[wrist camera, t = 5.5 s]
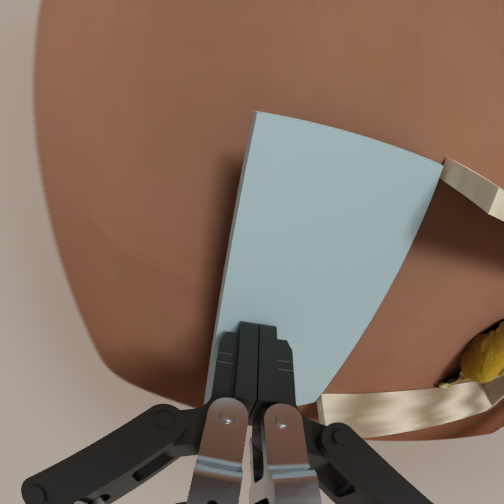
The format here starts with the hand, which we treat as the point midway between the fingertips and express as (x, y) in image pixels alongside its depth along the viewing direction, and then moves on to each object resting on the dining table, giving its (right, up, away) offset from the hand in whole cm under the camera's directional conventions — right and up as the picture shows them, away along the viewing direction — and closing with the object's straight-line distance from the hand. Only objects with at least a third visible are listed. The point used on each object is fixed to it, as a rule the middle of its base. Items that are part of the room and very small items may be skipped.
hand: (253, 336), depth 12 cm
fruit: (+19, -5, +6) cm, 21 cm away
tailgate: (+6, 0, +2) cm, 6 cm away
